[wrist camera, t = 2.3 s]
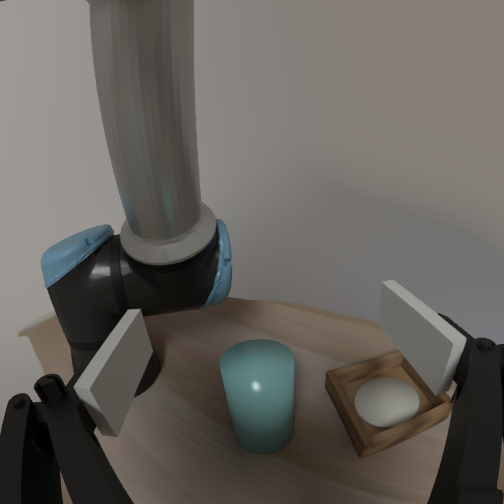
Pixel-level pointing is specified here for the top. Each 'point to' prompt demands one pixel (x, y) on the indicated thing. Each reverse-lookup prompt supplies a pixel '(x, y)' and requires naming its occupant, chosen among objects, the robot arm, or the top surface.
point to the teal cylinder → (260, 393)
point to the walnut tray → (374, 438)
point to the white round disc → (386, 402)
